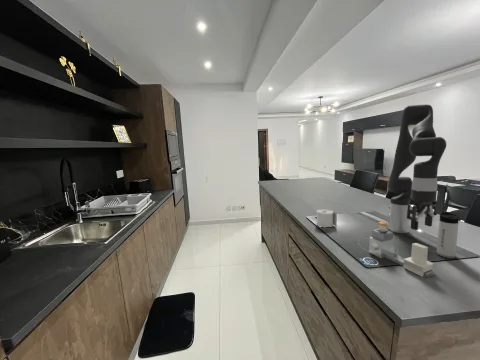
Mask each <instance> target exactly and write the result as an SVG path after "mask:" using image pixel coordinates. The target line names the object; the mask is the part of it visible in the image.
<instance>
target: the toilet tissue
mask: <svg viewBox="0 0 480 360" xmlns="http://www.w3.org/2000/svg"><path fill="white" fill-rule="evenodd" d="M337 222H338V213H337V212H335V211H334V210H331V209H327V208H326V209H325V208H324V209H317V210H316V226H317V225H319V226H321V227H332V226H333V227H335V228H336V227H337V226H338V225H337ZM334 225H335V226H334ZM321 227H320V228H321ZM333 227H332V228H333ZM337 228H338V227H337Z"/></svg>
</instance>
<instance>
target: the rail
mask: <svg viewBox="0 0 480 360" xmlns="http://www.w3.org/2000/svg"><path fill="white" fill-rule="evenodd" d="M383 258H385V259H387V260H389V261H390V262H391V261H392V262H393V263H395V264H398V265H399V266H401V267H404V259H406V258H405V257H402V256H401V255H398V254H396V253H395V252H394V253H392V252H390V253H386V254H384V257H383ZM435 274H436V273H435V271H432V270H429V271H427V272H424V275H423V277H424V278H430V277H433V276H435Z"/></svg>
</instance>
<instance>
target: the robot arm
mask: <svg viewBox="0 0 480 360" xmlns="http://www.w3.org/2000/svg"><path fill="white" fill-rule="evenodd" d="M400 119H401V121H400V127H399V128H400V129H399V136H398V140H397V144H396V147H395V153H394V158H393V165H392V169H391V172H390V174H389V175H390V176H389V179H388V183H387V188H388V191H389V192H390V193H401V194H399V195H397V196H393V197H391V198H390V207H389V208H390V209H389V210H390V211H389V213H388V214H387V215H388V216H387V217H388V218H387V230H389V231H391V232H393V233H397V234H408V233H409V224H410V229H411V230H413V231H417V230H418V229H419V220H420V218H422V217H423V216H424V226H426V227H432V226H433V218H434V217H435V216H437V215H438V200H437V192H438V171H439V170H438V169H439V165H440V161H441V159H442V157H443V155H444V153H445V151H446V148H447V141H446V140H445V138H444V137H441V136H437V135H436V132H435V129H434V109H433V106H432V105H431V104H414V105H412V104H411V105H406V106H405V107H404V108H403V111H402V115H401V118H400ZM409 126H414V127H412V131H411V133H410V130H409ZM417 157H430V159H428V160H425V161H420V162H416V163H415V164H414V165H413V163H414V162H415V160H416V158H417ZM412 165H413V174H412V175H413V176H412V177H413V178H412V177H409V176H401V174H402V173H403V172H404V171H405V170H406V169H408V168H409V167H410V166H412ZM411 200H412V201H414V203H413V204H411ZM409 221H410V223H409Z"/></svg>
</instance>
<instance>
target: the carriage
mask: <svg viewBox="0 0 480 360" xmlns="http://www.w3.org/2000/svg"><path fill="white" fill-rule="evenodd" d="M428 251H429V247H428V246H426V245H423V244H422V243H421V244H420V243H419V242H414V243H412V244H411V253H410V257H406V258H405V259H404V266H402V267H403V269H405V270H407V271H410V272H412V273H414V274H416V275H418V276H420V277H422V278H423V277H424V276H423V275H424V272H427V271H429V270H432V271H434V269H435V263H434V262H431V261H429V260H428ZM434 272H435V271H434Z"/></svg>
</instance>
